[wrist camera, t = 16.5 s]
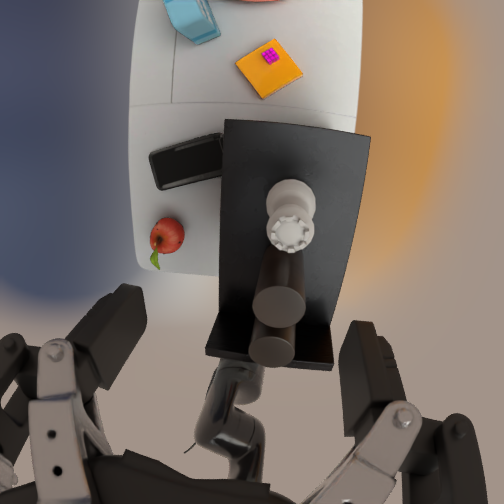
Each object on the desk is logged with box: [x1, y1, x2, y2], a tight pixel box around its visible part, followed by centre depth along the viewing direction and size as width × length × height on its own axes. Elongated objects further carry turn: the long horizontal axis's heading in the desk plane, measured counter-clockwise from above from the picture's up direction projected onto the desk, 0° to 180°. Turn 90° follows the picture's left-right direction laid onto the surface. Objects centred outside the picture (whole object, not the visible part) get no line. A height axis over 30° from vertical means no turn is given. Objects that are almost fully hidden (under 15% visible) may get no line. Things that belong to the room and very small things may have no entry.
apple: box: [150, 218, 185, 270], centre depth 51 cm, size 8×7×10 cm
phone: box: [149, 133, 224, 191], centre depth 48 cm, size 8×1×15 cm
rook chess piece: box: [266, 179, 316, 253], centre depth 22 cm, size 4×4×8 cm
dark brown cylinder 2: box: [249, 316, 296, 368], centre depth 26 cm, size 4×4×8 cm
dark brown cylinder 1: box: [253, 244, 306, 328], centre depth 24 cm, size 4×4×8 cm
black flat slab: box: [205, 119, 371, 371], centre depth 25 cm, size 22×13×7 cm, turn 176°
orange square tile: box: [235, 39, 303, 99], centre depth 38 cm, size 8×8×4 cm
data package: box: [163, 0, 221, 44], centre depth 31 cm, size 12×4×12 cm, turn 19°
